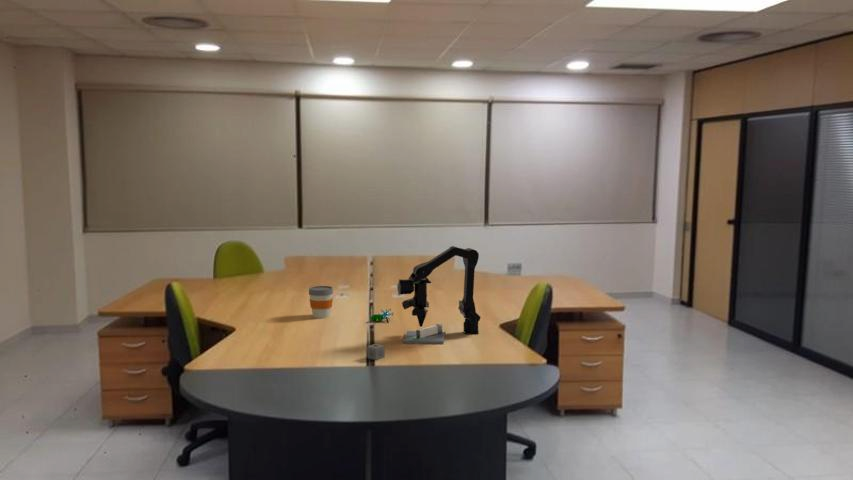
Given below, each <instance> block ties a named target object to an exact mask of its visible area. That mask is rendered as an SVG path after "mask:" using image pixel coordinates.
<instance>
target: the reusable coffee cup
mask: <svg viewBox="0 0 853 480" xmlns="http://www.w3.org/2000/svg"><path fill="white" fill-rule="evenodd" d="M308 294H309V306H310V308H311V311H312V317H313V318H314V319H327V318H329V317H331V312H332V307H333V302H334V300H333V294H334V288H333V287H332V286H329V285H317V286H311V287H309V288H308Z"/></svg>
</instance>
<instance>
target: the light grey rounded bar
mask: <svg viewBox="0 0 853 480" xmlns="http://www.w3.org/2000/svg"><path fill="white" fill-rule="evenodd" d="M415 331H416V338H418V339H419V338H423V337H426V336H430V335H434V334H440V333H442V332H443V324H440V323H438V324H437V323H436V324H435V325H431V326H427V327H424V328H420V329H416V330H415Z"/></svg>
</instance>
